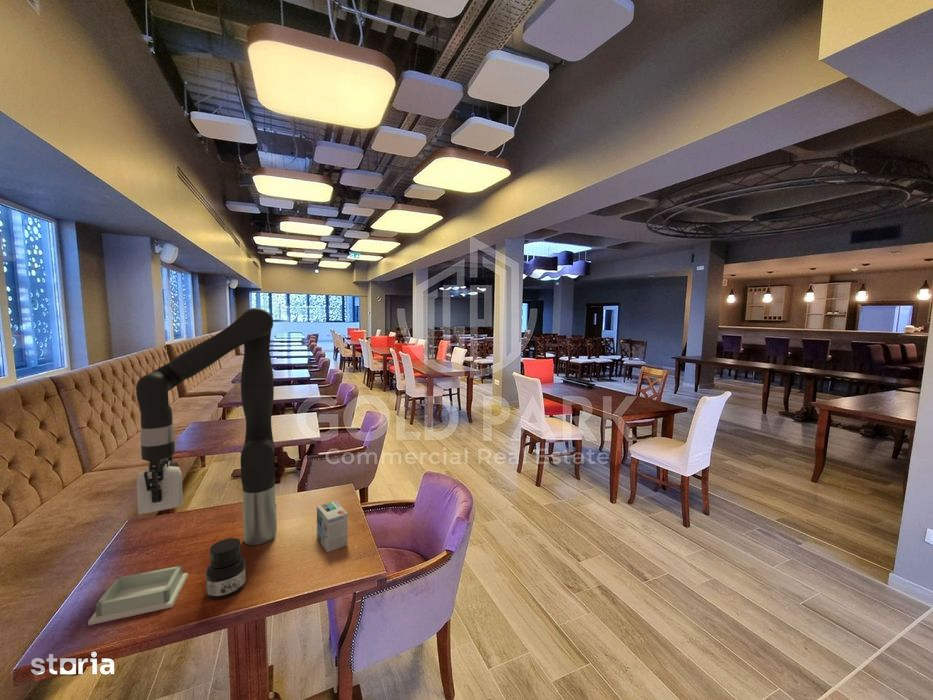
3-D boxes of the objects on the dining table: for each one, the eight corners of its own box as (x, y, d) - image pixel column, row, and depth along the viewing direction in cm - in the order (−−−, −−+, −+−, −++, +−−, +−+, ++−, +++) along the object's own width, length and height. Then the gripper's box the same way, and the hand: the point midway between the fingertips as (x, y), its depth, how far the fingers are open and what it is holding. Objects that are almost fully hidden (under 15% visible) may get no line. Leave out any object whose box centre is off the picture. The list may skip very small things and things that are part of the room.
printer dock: (187, 576, 104) (187, 562, 103) (172, 607, 92) (171, 591, 92) (114, 590, 98) (113, 576, 97) (88, 625, 86) (87, 609, 86)
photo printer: (183, 501, 114) (181, 461, 113) (182, 507, 110) (180, 466, 109) (139, 510, 108) (137, 468, 107) (136, 516, 104) (134, 474, 103)
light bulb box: (316, 537, 123) (315, 505, 123) (336, 530, 128) (336, 500, 127) (327, 553, 115) (327, 519, 114) (348, 545, 119) (348, 512, 119)
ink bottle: (204, 606, 93) (203, 560, 92) (204, 585, 100) (202, 543, 99) (249, 590, 99) (248, 547, 98) (245, 572, 106) (244, 531, 105)
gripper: (164, 447, 102) (167, 507, 104) (182, 432, 115) (184, 485, 117) (130, 450, 99) (133, 511, 101) (152, 435, 113) (154, 489, 114)
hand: (160, 497), depth 109 cm, fingers closed on photo printer, 4 cm apart
